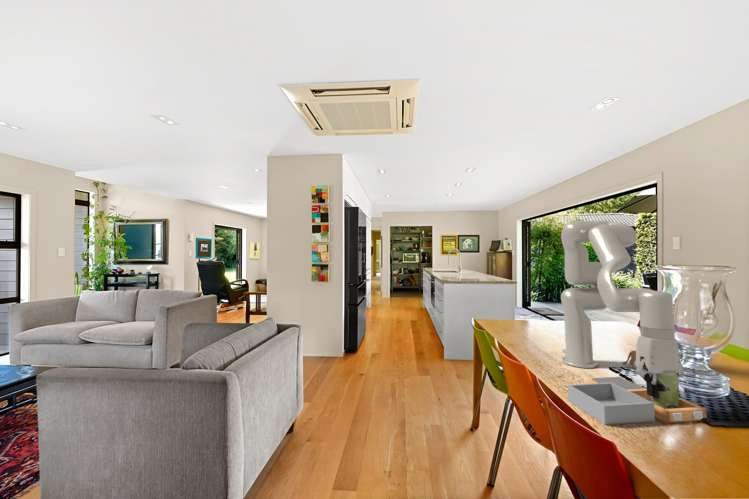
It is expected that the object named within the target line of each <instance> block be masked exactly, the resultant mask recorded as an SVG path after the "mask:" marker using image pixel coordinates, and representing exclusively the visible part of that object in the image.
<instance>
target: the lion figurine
mask: <svg viewBox="0 0 749 499" xmlns="http://www.w3.org/2000/svg"><path fill="white" fill-rule="evenodd" d="M628 362H629V366H631V367H632V368H633V369H634V370H636V369H637V367H636V366H635V365H636V350H631V351H630V352H629V353H628V355H627V359H626V361H623V362H622V364H623V365H626V364H628Z"/></svg>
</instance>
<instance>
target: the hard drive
mask: <svg viewBox="0 0 749 499" xmlns="http://www.w3.org/2000/svg"><path fill="white" fill-rule="evenodd" d="M630 378H632V379H631V381H632V382H633V383H635V384H637V385H639V386H646V381H644V379H643V378H642V377H641V376H640V375H630ZM679 391H684V392H685V388H683V387H682V386H681V385H680V384H679ZM684 392H683V393H684Z"/></svg>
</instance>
